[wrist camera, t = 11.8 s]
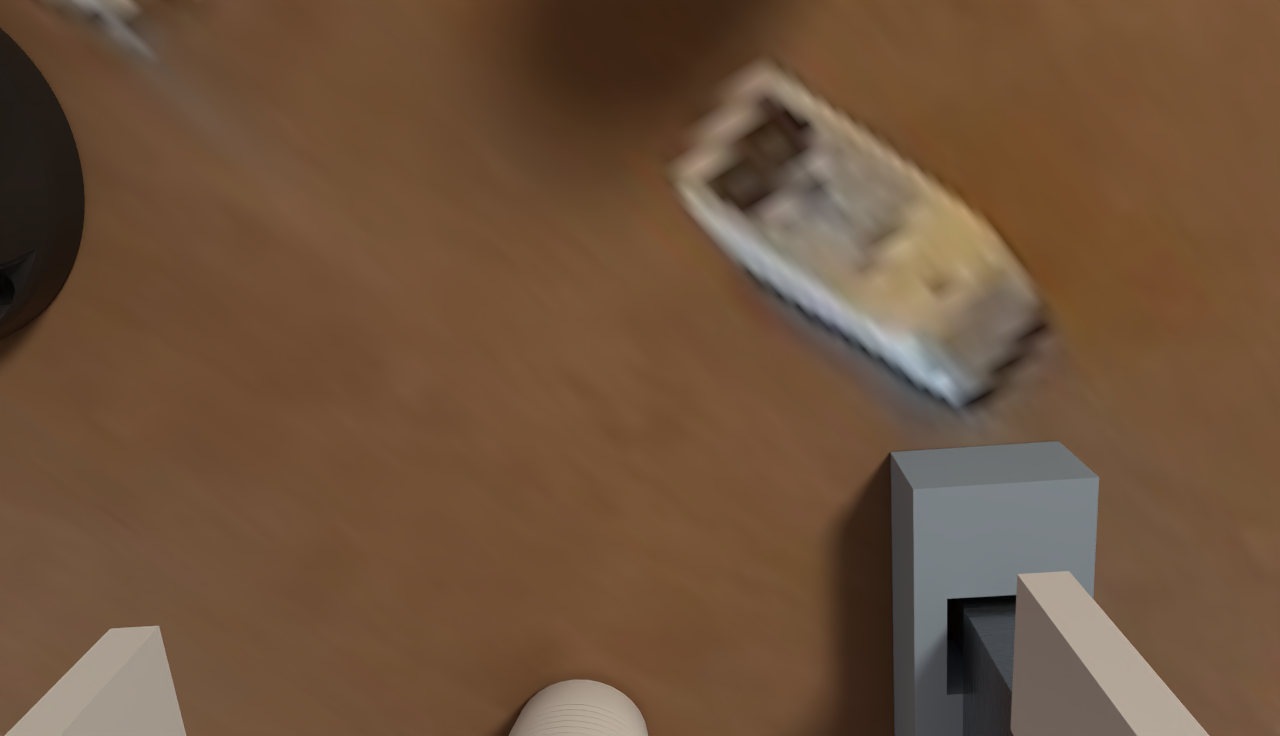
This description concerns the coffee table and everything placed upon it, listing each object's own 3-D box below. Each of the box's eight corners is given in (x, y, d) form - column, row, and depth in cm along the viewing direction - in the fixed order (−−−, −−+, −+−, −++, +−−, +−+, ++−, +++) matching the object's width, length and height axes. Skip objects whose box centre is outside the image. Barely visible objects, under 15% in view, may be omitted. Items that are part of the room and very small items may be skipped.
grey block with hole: (896, 875, 47) (916, 945, 43) (890, 452, 41) (913, 489, 37) (1043, 868, 46) (1076, 938, 42) (1058, 441, 40) (1099, 477, 36)
